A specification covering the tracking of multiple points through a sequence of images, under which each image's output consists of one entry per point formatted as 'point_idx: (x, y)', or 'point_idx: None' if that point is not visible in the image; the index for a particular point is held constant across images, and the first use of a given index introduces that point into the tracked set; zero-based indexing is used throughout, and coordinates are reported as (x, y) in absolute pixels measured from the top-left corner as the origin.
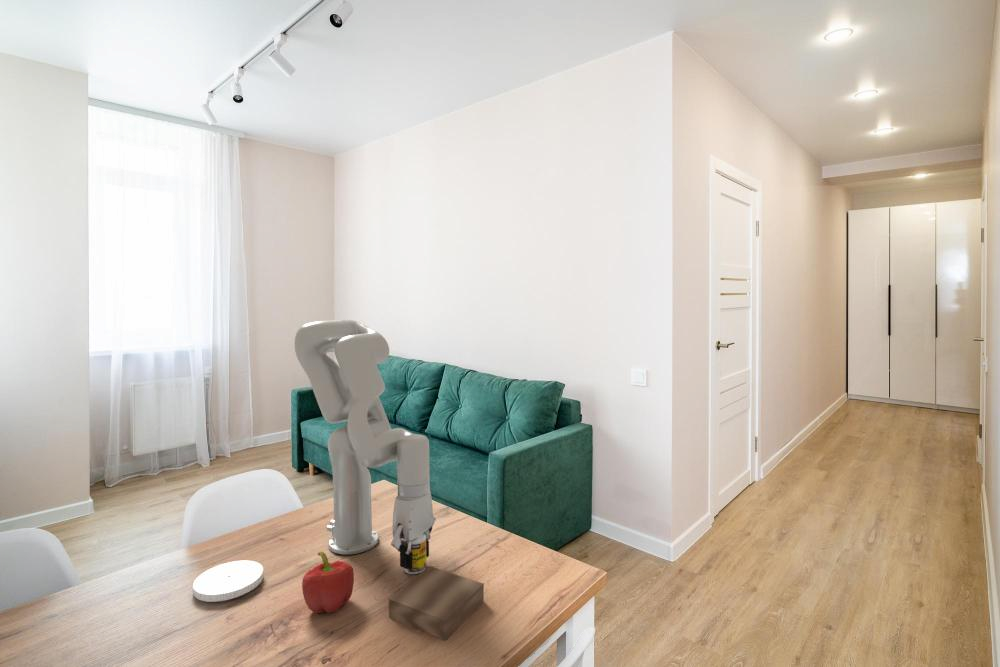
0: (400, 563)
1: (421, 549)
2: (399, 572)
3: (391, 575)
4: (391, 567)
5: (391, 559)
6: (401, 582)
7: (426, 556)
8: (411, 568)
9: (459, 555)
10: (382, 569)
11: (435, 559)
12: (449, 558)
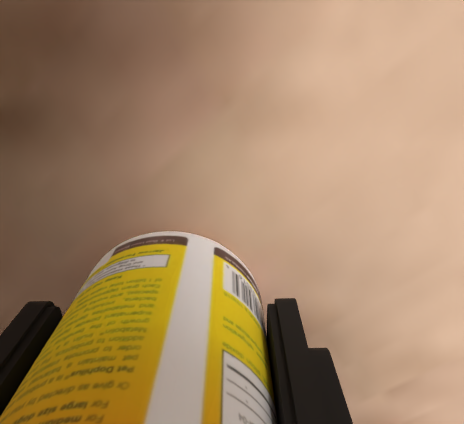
0: (19, 318)
1: None
2: (76, 238)
3: (7, 216)
4: (82, 135)
5: (180, 31)
6: (5, 321)
7: None
8: None
9: (456, 416)
10: (6, 86)
11: (353, 335)
12: (400, 391)
